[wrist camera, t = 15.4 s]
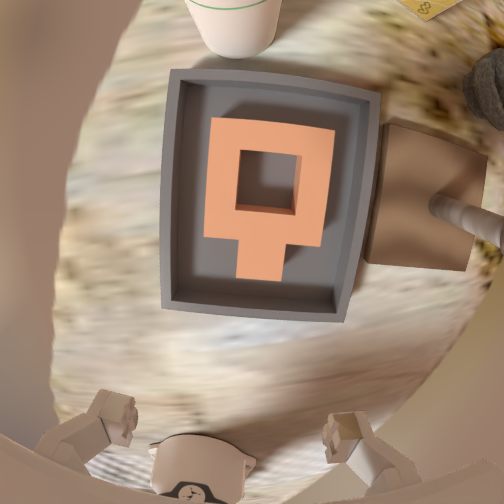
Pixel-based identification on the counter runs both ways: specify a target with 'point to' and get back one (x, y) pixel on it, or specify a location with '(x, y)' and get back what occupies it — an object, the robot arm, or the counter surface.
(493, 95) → the mortar and pestle
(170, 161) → the tray
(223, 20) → the cylindrical container
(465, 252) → the stake stand
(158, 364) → the counter surface
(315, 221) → the ring
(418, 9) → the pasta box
